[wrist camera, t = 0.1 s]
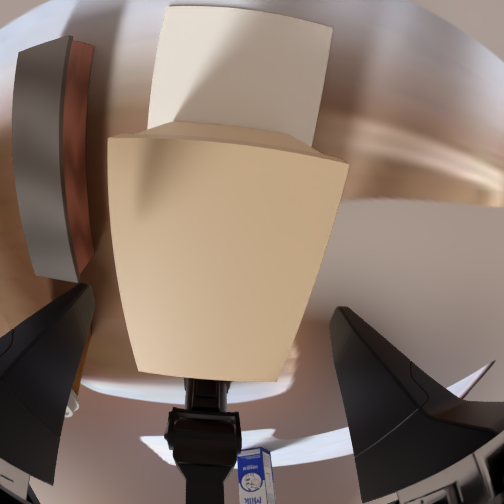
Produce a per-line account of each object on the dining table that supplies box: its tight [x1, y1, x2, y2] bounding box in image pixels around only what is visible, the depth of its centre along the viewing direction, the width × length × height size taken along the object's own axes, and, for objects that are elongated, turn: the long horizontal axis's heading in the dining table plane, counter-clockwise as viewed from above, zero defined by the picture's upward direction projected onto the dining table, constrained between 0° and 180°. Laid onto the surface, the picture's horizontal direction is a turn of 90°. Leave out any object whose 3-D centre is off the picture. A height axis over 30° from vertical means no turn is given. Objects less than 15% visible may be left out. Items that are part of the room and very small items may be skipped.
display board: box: [147, 6, 333, 147], centre depth 20 cm, size 24×13×1 cm, turn 171°
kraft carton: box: [108, 121, 350, 382], centre depth 18 cm, size 14×9×11 cm, turn 171°
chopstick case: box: [12, 36, 95, 283], centre depth 17 cm, size 20×5×5 cm, turn 171°
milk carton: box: [237, 447, 276, 504], centre depth 49 cm, size 7×7×20 cm
